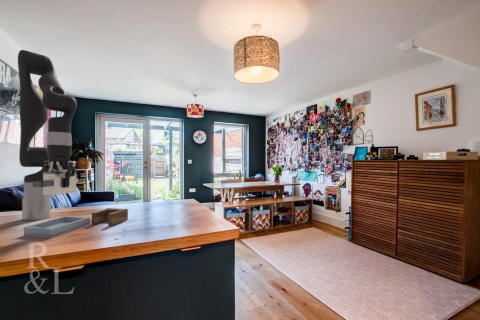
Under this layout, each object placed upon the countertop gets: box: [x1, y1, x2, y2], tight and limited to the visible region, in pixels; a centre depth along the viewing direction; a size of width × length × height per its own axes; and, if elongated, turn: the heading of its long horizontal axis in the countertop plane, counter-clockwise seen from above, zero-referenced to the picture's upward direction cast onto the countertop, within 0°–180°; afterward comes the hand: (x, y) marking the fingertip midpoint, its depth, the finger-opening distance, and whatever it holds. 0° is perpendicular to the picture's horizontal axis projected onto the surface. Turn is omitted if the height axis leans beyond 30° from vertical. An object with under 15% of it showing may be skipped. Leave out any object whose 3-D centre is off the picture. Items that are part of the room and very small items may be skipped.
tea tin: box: [33, 170, 77, 196], centre depth 85 cm, size 5×13×9 cm, turn 170°
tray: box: [23, 215, 91, 239], centre depth 86 cm, size 12×16×3 cm
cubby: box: [91, 207, 129, 227], centre depth 97 cm, size 10×10×5 cm
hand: (59, 187), depth 86 cm, fingers closed on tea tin, 5 cm apart
